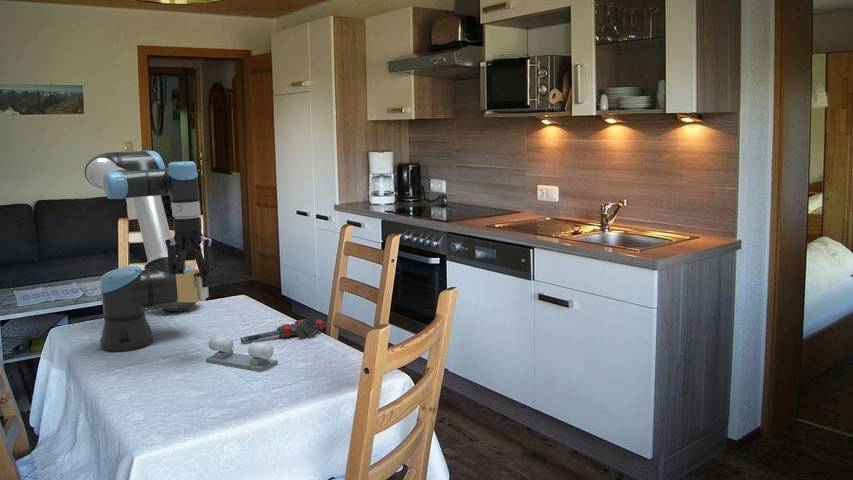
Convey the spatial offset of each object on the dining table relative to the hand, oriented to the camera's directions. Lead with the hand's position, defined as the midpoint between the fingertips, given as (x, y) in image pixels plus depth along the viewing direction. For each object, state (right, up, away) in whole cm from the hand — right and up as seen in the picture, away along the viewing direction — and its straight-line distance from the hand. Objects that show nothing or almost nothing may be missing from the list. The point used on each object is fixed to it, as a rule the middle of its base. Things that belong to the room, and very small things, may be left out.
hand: (193, 298), depth 209 cm
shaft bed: (+14, -18, -3) cm, 23 cm away
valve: (+21, -14, +23) cm, 34 cm away
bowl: (-24, -9, +58) cm, 63 cm away
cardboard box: (0, 0, 0) cm, 0 cm away
